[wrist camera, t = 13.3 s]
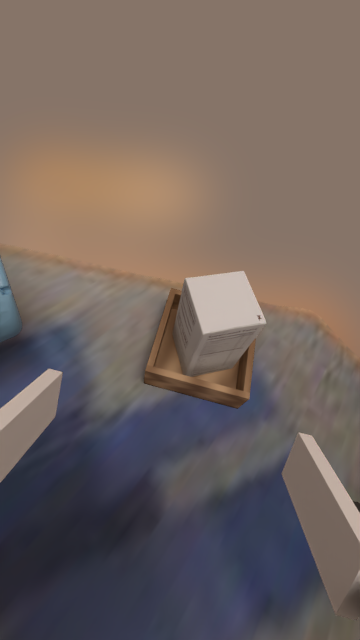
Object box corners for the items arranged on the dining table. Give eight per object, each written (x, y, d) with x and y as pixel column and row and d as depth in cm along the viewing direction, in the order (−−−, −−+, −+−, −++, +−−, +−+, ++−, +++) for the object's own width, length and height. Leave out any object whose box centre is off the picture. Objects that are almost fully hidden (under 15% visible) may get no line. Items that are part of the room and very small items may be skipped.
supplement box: (218, 324, 58) (246, 268, 43) (233, 369, 53) (270, 323, 39) (170, 332, 55) (183, 276, 41) (182, 379, 51) (202, 334, 37)
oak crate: (143, 383, 51) (145, 370, 46) (167, 305, 60) (171, 287, 54) (237, 408, 51) (249, 399, 46) (247, 327, 60) (258, 311, 54)
